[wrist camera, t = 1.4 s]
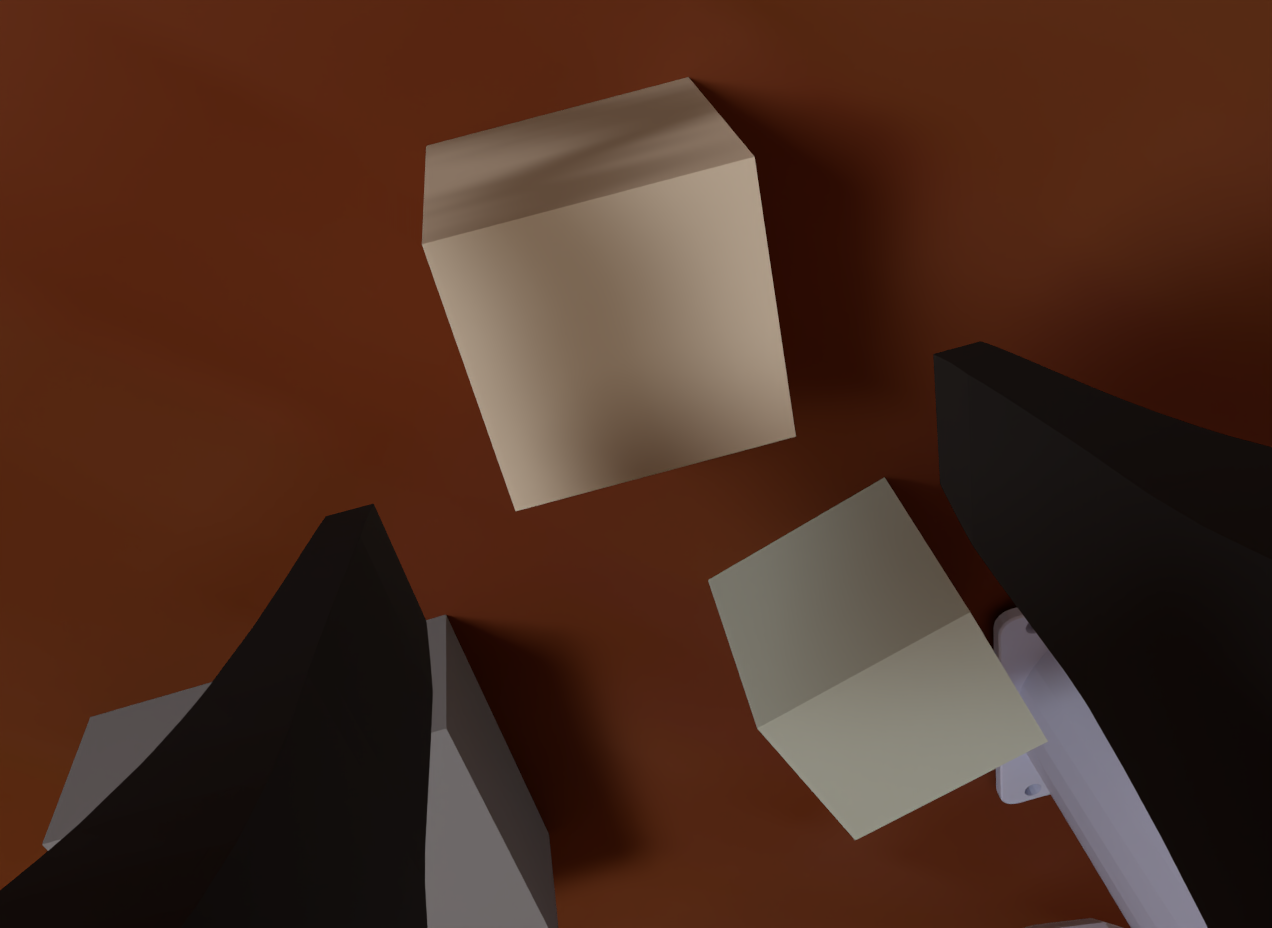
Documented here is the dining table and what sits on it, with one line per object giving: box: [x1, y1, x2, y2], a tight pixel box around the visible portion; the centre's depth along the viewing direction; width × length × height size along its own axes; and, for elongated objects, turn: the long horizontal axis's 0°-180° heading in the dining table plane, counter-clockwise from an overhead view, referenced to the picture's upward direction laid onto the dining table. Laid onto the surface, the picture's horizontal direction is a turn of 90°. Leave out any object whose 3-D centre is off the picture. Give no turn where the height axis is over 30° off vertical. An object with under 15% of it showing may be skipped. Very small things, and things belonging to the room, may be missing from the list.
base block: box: [42, 615, 558, 928], centre depth 26 cm, size 9×9×4 cm
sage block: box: [708, 477, 1048, 840], centre depth 25 cm, size 5×5×5 cm
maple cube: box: [422, 77, 796, 511], centre depth 19 cm, size 5×5×5 cm
